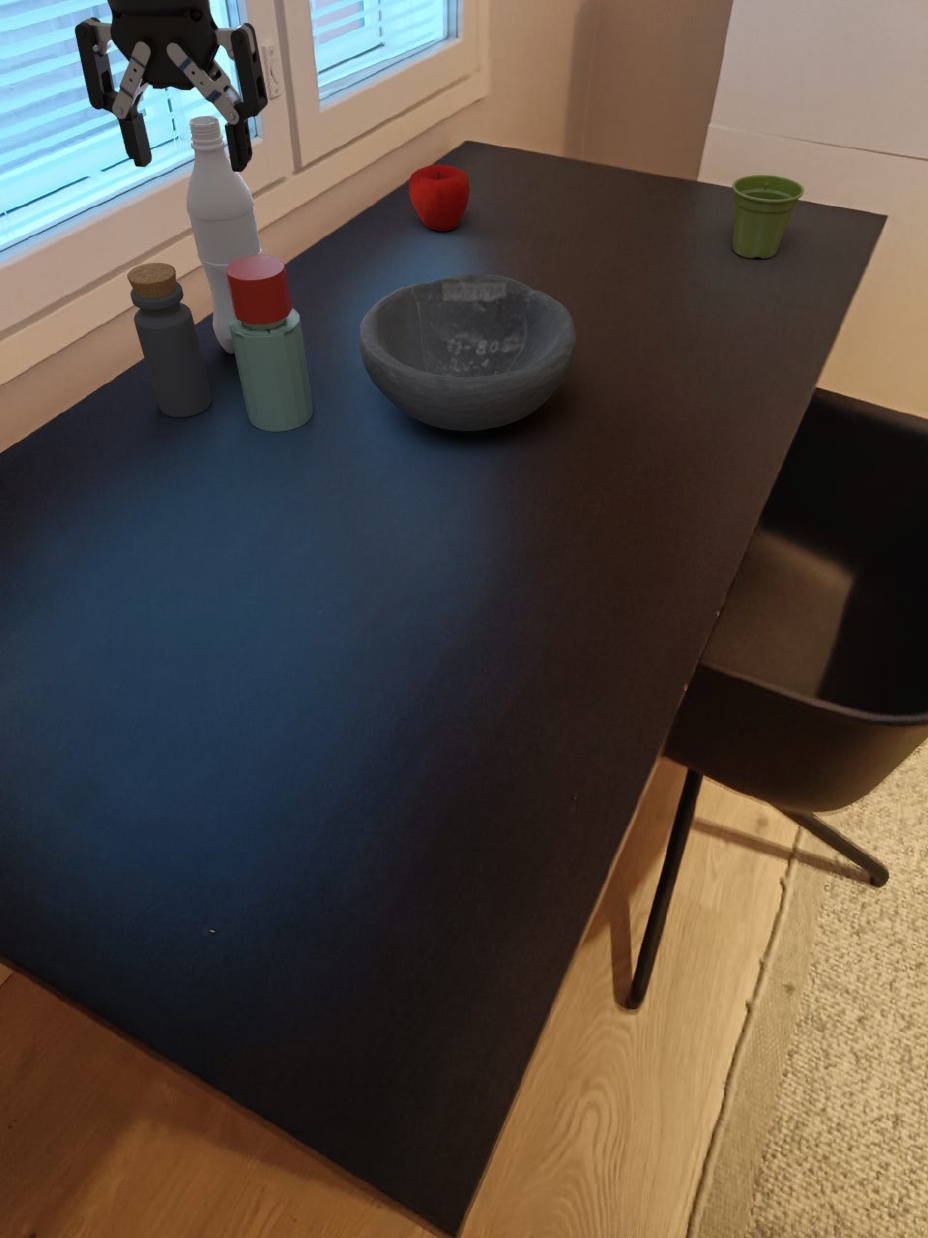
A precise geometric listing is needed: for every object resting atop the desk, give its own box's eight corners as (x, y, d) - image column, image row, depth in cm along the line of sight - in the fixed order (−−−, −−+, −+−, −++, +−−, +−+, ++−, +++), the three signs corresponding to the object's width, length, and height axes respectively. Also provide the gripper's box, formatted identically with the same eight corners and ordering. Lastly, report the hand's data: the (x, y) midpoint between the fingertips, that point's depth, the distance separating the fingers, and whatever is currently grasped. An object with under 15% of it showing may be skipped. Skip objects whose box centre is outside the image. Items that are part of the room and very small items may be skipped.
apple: (406, 216, 136) (403, 161, 130) (463, 212, 137) (463, 157, 131) (415, 240, 130) (412, 184, 124) (474, 235, 131) (474, 179, 125)
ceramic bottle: (235, 417, 98) (204, 274, 86) (281, 390, 102) (257, 249, 90) (280, 439, 95) (253, 294, 83) (326, 410, 99) (307, 268, 87)
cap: (223, 313, 89) (213, 269, 86) (264, 293, 92) (256, 249, 89) (261, 330, 87) (253, 285, 84) (302, 308, 90) (296, 264, 87)
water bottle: (207, 355, 107) (153, 127, 89) (236, 328, 112) (191, 106, 94) (261, 365, 105) (217, 134, 88) (288, 336, 110) (252, 112, 92)
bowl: (322, 403, 99) (310, 319, 92) (464, 332, 111) (464, 252, 103) (469, 492, 88) (469, 403, 81) (612, 403, 99) (623, 318, 92)
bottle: (186, 423, 97) (151, 290, 86) (147, 408, 99) (108, 276, 88) (223, 398, 100) (193, 267, 90) (185, 384, 103) (151, 254, 92)
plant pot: (706, 250, 127) (718, 186, 121) (745, 231, 131) (759, 168, 125) (762, 271, 122) (777, 205, 116) (801, 251, 126) (818, 187, 120)
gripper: (255, -77, 67) (284, 156, 78) (74, -82, 68) (129, 147, 80) (223, -60, 62) (259, 187, 73) (27, -66, 63) (93, 177, 74)
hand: (191, 166), depth 76 cm, fingers open, 8 cm apart
